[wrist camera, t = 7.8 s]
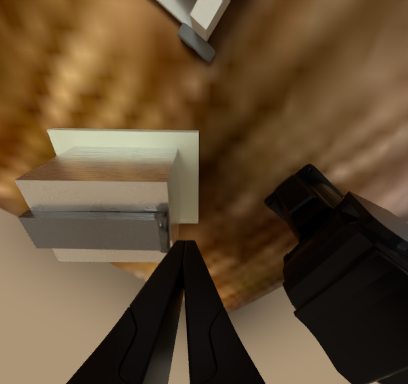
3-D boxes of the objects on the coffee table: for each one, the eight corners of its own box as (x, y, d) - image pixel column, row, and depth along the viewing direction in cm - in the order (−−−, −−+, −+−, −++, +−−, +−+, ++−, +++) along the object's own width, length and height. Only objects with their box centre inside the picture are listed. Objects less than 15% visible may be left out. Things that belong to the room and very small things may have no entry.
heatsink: (177, 148, 19) (166, 182, 13) (181, 213, 23) (173, 262, 17) (65, 146, 19) (2, 179, 13) (89, 212, 23) (49, 261, 17)
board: (198, 130, 19) (198, 132, 18) (198, 219, 25) (198, 223, 24) (52, 127, 19) (47, 130, 18) (86, 218, 24) (83, 222, 24)
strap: (168, 210, 14) (166, 218, 13) (171, 244, 16) (169, 253, 15) (26, 207, 14) (16, 215, 13) (45, 241, 16) (37, 250, 15)
